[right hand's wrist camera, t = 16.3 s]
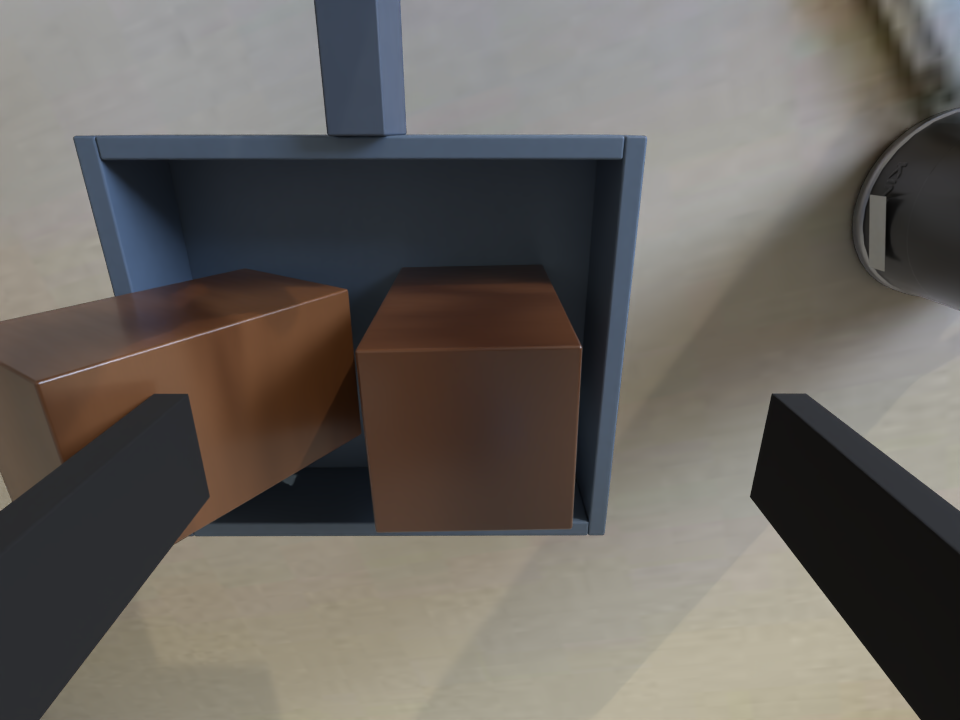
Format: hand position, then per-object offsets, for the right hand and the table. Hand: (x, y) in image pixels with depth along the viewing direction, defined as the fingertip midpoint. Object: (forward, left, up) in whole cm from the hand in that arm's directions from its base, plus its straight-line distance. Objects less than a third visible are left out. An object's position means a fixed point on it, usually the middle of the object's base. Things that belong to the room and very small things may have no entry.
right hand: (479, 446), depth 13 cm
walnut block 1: (-6, 0, -6) cm, 9 cm away
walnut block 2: (0, 0, -8) cm, 8 cm away
